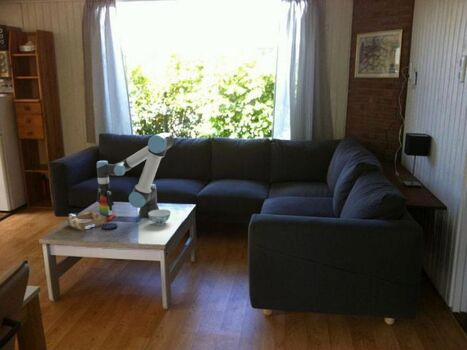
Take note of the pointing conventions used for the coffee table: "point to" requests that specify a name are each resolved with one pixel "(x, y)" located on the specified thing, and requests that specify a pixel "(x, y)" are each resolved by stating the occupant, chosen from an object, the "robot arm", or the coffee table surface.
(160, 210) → the chinaware
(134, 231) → the coffee table surface
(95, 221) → the crate
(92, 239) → the coffee table surface
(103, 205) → the stacking bear
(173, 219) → the coffee table surface
